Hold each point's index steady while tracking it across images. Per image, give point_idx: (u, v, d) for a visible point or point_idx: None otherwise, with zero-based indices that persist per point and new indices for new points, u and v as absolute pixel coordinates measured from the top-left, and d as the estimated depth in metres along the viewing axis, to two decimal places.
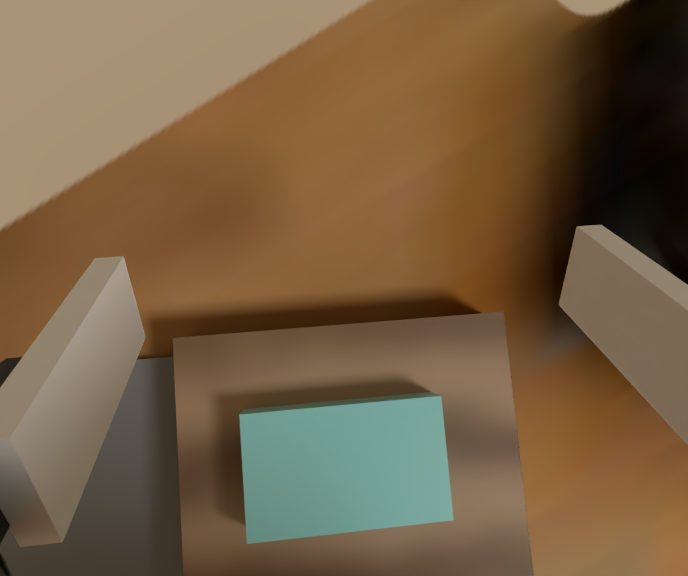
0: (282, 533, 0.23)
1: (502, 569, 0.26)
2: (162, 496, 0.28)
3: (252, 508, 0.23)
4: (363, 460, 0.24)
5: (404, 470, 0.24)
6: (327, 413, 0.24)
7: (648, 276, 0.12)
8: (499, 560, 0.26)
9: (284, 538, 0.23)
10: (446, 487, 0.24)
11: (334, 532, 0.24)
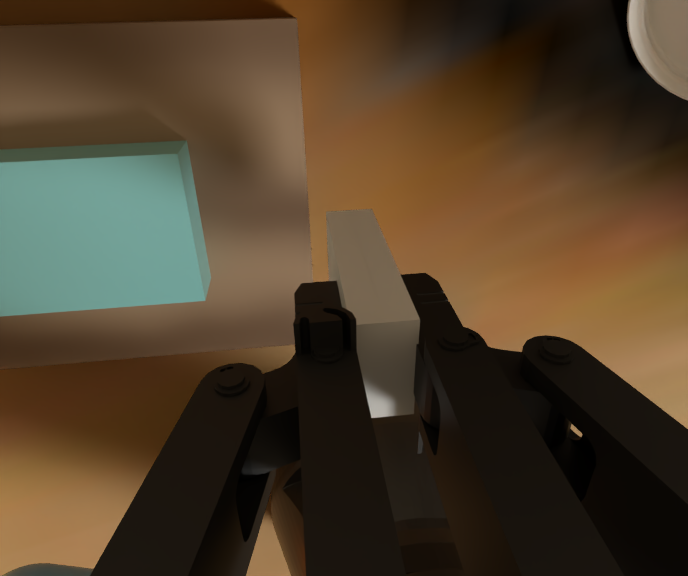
0: None
1: (282, 336, 0.24)
2: None
3: None
4: (76, 233, 0.18)
5: (135, 247, 0.19)
6: (7, 172, 0.17)
7: (366, 251, 0.13)
8: (279, 329, 0.24)
9: None
10: (193, 266, 0.19)
11: (56, 310, 0.20)
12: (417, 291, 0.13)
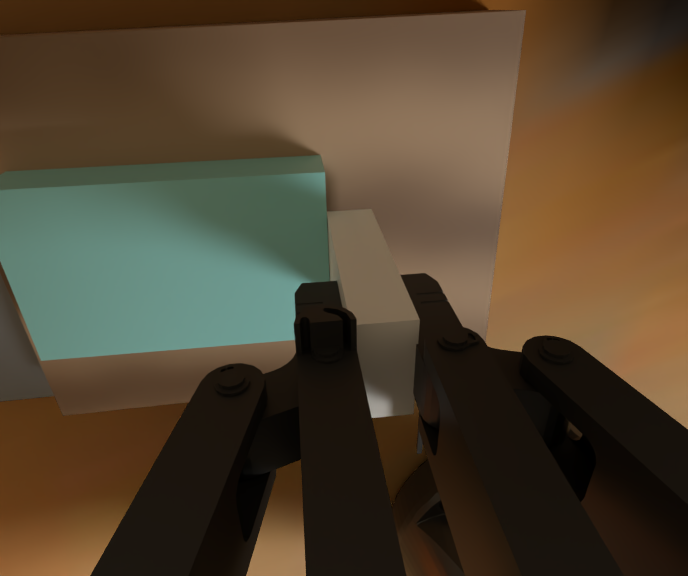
0: (89, 349, 0.17)
1: None
2: None
3: (37, 321, 0.16)
4: (198, 263, 0.16)
5: (262, 278, 0.16)
6: (129, 194, 0.14)
7: (366, 251, 0.13)
8: None
9: (94, 354, 0.17)
10: None
11: (165, 348, 0.17)
12: (417, 291, 0.13)
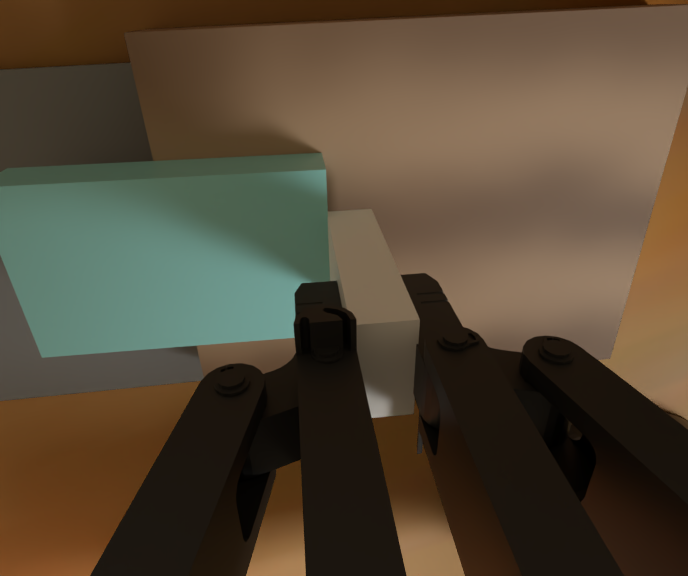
0: (90, 346, 0.17)
1: None
2: None
3: (38, 317, 0.16)
4: (199, 260, 0.16)
5: (263, 275, 0.16)
6: (130, 191, 0.14)
7: (366, 251, 0.13)
8: (577, 344, 0.22)
9: (95, 351, 0.17)
10: None
11: (166, 346, 0.17)
12: (417, 291, 0.13)
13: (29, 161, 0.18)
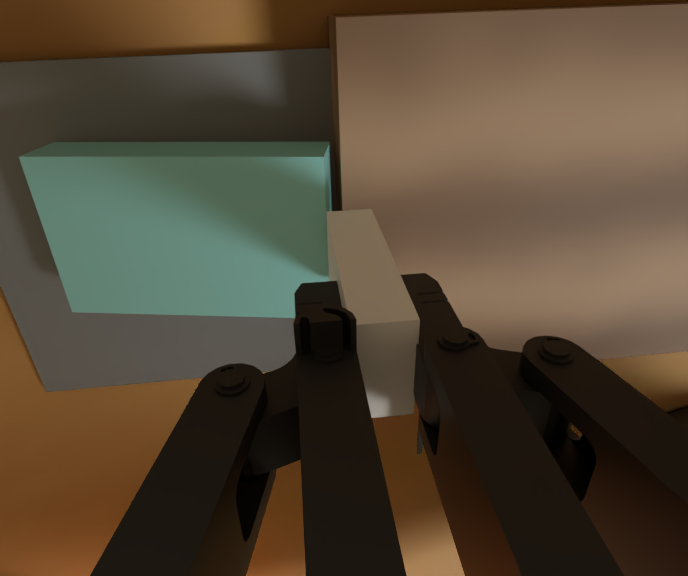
0: (112, 306, 0.19)
1: None
2: None
3: (69, 276, 0.18)
4: (207, 236, 0.17)
5: (264, 255, 0.17)
6: (147, 167, 0.16)
7: (366, 251, 0.13)
8: None
9: (116, 312, 0.19)
10: (323, 281, 0.18)
11: (177, 313, 0.19)
12: (417, 291, 0.13)
13: None
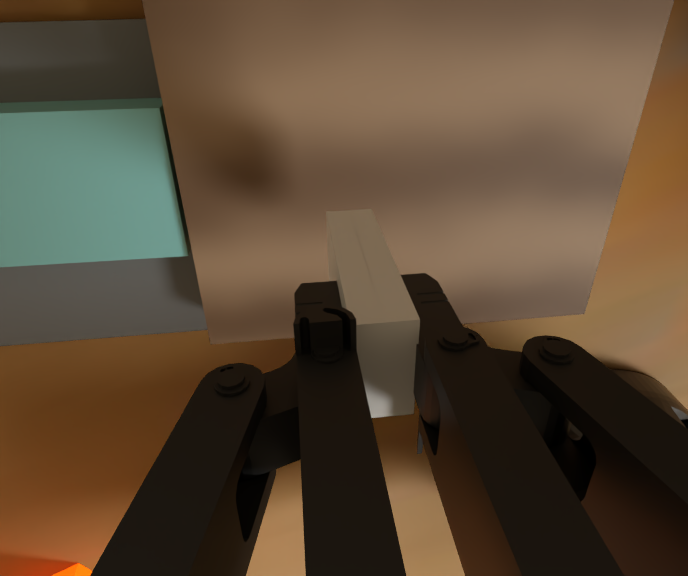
0: None
1: (554, 307, 0.24)
2: None
3: None
4: (61, 186, 0.19)
5: (119, 201, 0.19)
6: None
7: (366, 251, 0.13)
8: (554, 299, 0.24)
9: None
10: (176, 221, 0.20)
11: (43, 263, 0.20)
12: (417, 291, 0.13)
13: None
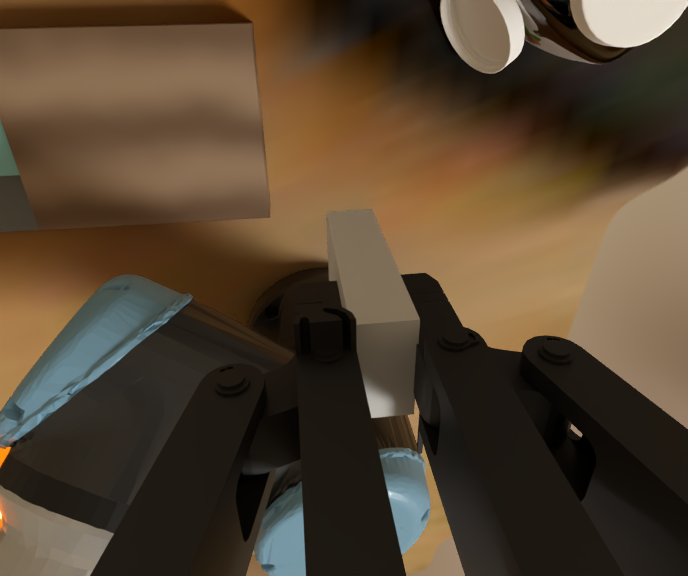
0: None
1: (248, 212, 0.40)
2: None
3: None
4: None
5: None
6: None
7: (366, 251, 0.13)
8: (246, 207, 0.40)
9: None
10: (9, 154, 0.36)
11: None
12: (417, 291, 0.13)
13: None
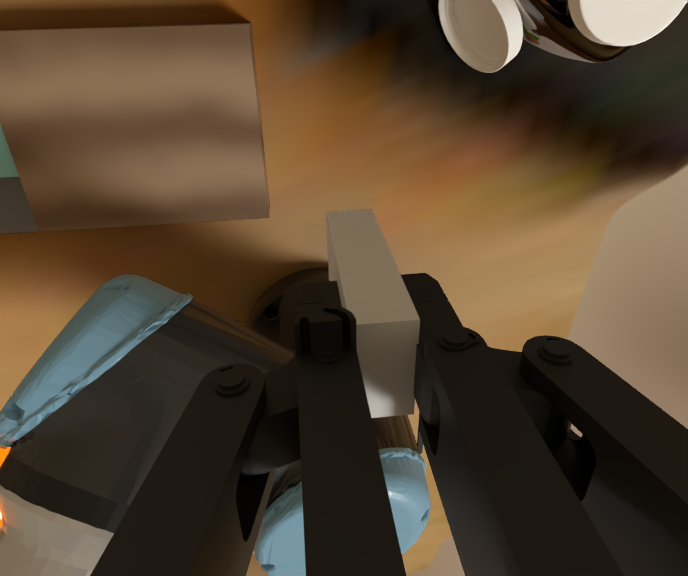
0: None
1: (248, 213, 0.40)
2: None
3: None
4: None
5: None
6: None
7: (366, 251, 0.13)
8: (246, 207, 0.40)
9: None
10: (9, 155, 0.37)
11: None
12: (417, 291, 0.13)
13: None
